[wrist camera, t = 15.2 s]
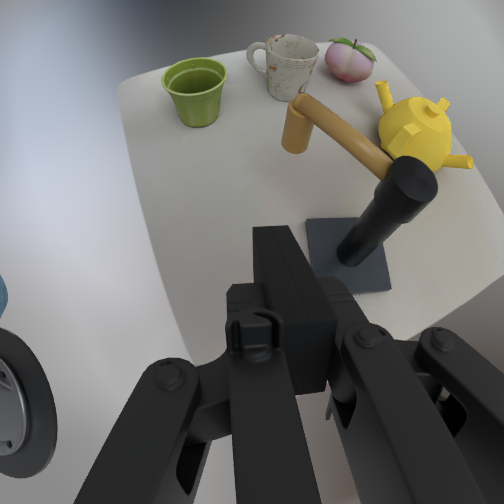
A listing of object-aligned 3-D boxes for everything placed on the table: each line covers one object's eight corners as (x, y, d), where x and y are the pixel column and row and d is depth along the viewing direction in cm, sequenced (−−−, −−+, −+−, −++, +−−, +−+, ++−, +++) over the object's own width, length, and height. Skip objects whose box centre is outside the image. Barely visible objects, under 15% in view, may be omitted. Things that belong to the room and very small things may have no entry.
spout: (270, 146, 32) (278, 90, 24) (298, 127, 33) (311, 74, 26) (382, 250, 28) (423, 212, 21) (405, 223, 29) (445, 183, 22)
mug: (296, 113, 47) (306, 66, 38) (232, 86, 49) (231, 41, 40) (316, 89, 50) (327, 46, 41) (256, 65, 52) (259, 23, 43)
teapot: (331, 132, 46) (349, 81, 36) (388, 98, 51) (408, 56, 40) (424, 221, 41) (465, 183, 31) (465, 169, 46) (497, 134, 35)
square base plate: (315, 297, 37) (355, 259, 24) (305, 222, 40) (333, 156, 27) (388, 290, 37) (450, 252, 24) (374, 220, 41) (421, 161, 28)
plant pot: (197, 145, 44) (190, 104, 36) (159, 118, 46) (148, 79, 38) (240, 113, 47) (241, 72, 39) (201, 90, 49) (197, 51, 41)
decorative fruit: (369, 78, 53) (383, 41, 43) (362, 99, 50) (378, 58, 41) (326, 61, 54) (336, 22, 44) (315, 80, 51) (325, 38, 42)
